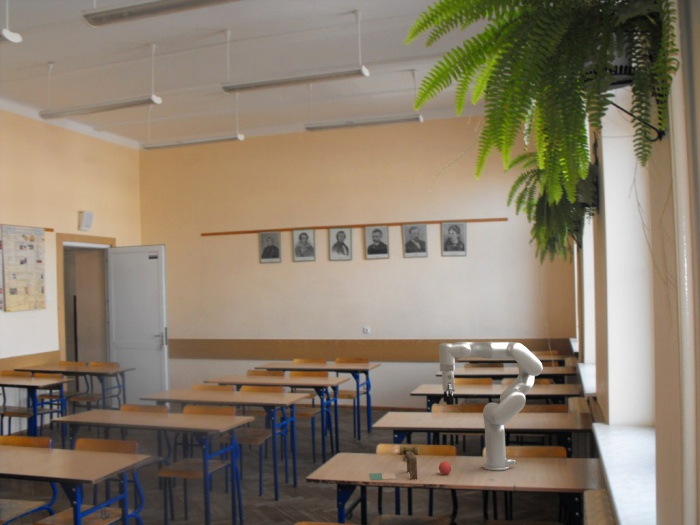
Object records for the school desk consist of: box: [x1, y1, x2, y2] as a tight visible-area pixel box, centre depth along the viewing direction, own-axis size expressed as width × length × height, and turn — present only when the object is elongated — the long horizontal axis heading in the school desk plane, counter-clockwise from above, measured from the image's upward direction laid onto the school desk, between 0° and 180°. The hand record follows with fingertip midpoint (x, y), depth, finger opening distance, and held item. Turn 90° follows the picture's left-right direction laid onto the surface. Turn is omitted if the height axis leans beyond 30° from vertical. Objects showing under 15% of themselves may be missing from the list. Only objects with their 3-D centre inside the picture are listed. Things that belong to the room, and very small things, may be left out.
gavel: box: [399, 445, 420, 462], centre depth 352 cm, size 21×5×10 cm
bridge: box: [405, 451, 418, 481], centre depth 313 cm, size 3×15×10 cm, turn 2°
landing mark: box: [369, 472, 383, 481], centre depth 312 cm, size 12×12×1 cm
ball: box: [438, 460, 452, 475], centre depth 314 cm, size 6×6×6 cm
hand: (448, 403), depth 323 cm, fingers open, 9 cm apart
